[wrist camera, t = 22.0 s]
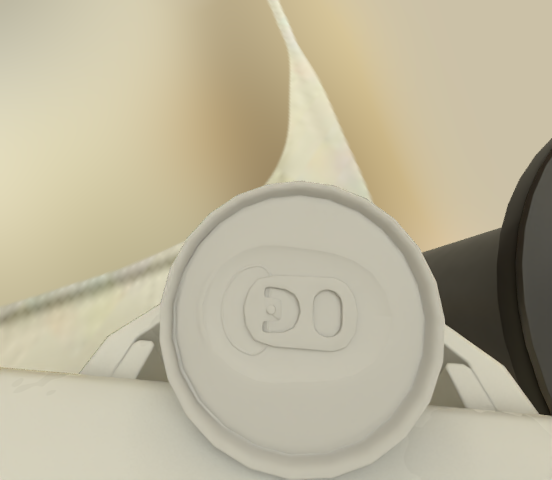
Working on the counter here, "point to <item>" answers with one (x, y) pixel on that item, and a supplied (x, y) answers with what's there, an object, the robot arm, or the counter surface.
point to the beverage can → (302, 330)
